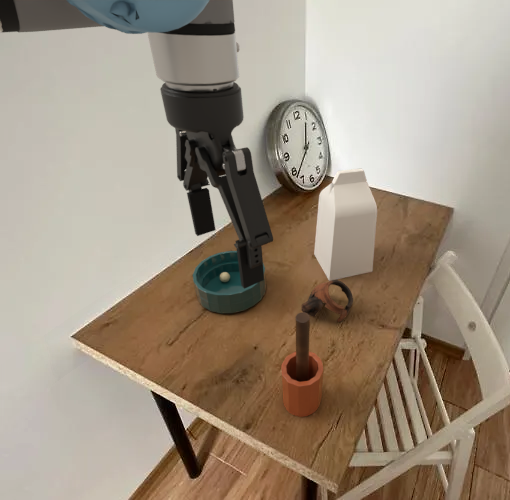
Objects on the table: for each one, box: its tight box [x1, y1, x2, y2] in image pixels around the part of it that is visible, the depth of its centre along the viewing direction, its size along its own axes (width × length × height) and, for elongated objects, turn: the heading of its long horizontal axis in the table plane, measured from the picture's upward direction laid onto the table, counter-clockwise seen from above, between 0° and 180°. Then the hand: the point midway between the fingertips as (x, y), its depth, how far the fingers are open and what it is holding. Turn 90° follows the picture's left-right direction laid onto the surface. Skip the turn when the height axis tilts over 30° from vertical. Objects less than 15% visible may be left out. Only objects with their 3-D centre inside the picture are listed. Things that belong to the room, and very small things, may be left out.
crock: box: [280, 350, 324, 418], centre depth 59 cm, size 7×7×9 cm
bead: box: [220, 272, 230, 282], centre depth 84 cm, size 2×2×2 cm
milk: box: [313, 168, 378, 282], centre depth 86 cm, size 12×12×26 cm
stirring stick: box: [295, 312, 311, 382], centre depth 56 cm, size 2×2×20 cm
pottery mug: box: [301, 279, 354, 323], centre depth 77 cm, size 12×10×8 cm
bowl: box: [192, 250, 267, 314], centre depth 81 cm, size 15×15×6 cm
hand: (227, 255), depth 47 cm, fingers open, 13 cm apart
